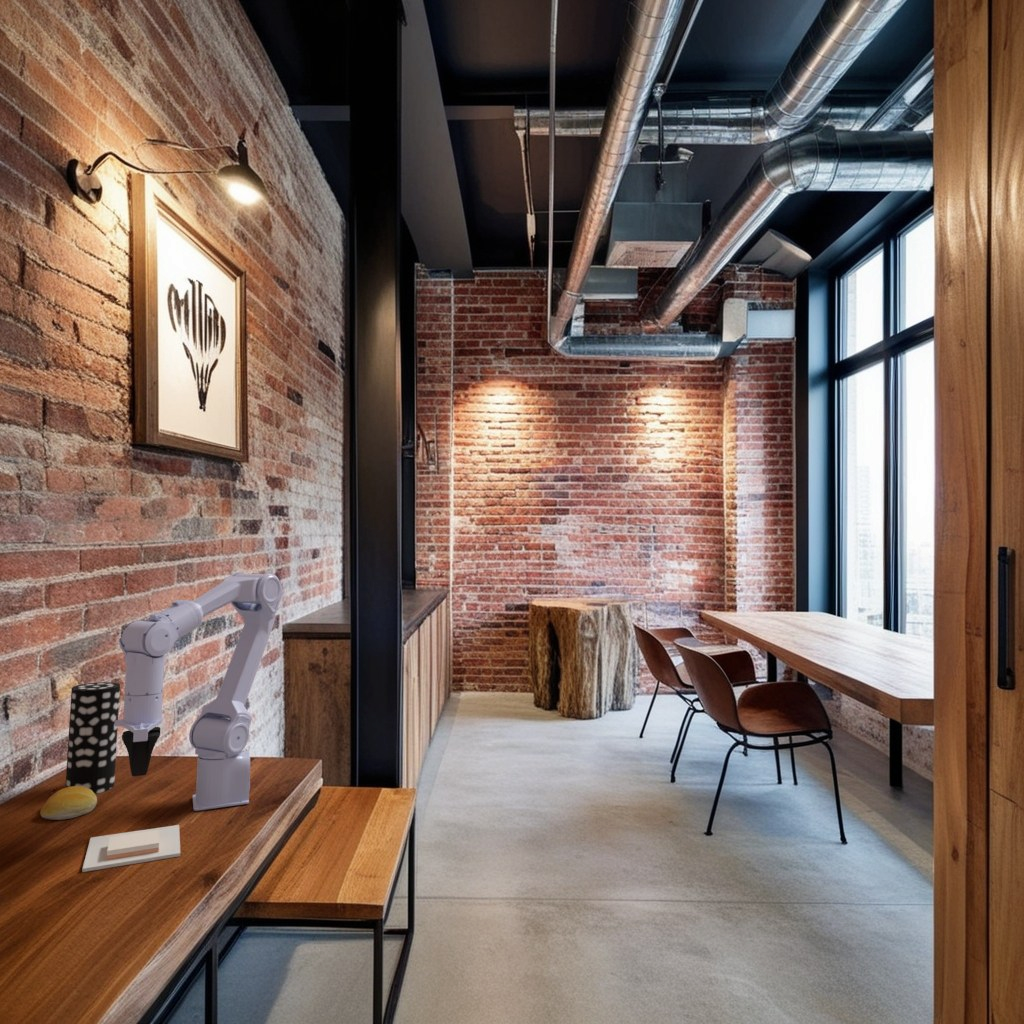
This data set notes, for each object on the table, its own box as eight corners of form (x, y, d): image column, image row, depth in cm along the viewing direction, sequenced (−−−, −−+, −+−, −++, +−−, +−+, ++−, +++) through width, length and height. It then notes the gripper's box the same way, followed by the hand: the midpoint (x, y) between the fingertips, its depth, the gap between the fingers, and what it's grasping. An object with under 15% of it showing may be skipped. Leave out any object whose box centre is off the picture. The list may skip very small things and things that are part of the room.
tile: (159, 829, 111) (159, 842, 106) (158, 838, 110) (158, 852, 106) (109, 836, 107) (107, 850, 102) (109, 846, 107) (106, 860, 102)
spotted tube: (122, 786, 135) (128, 685, 136) (77, 798, 128) (84, 692, 129) (101, 778, 140) (107, 680, 141) (56, 789, 133) (63, 686, 134)
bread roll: (35, 824, 117) (36, 800, 117) (50, 806, 125) (51, 784, 125) (90, 818, 120) (91, 795, 120) (101, 801, 128) (102, 779, 128)
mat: (179, 827, 116) (179, 824, 116) (180, 856, 105) (180, 852, 105) (90, 840, 110) (90, 837, 110) (82, 872, 100) (82, 868, 100)
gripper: (119, 686, 119) (114, 765, 118) (113, 703, 106) (108, 791, 105) (164, 683, 122) (160, 760, 121) (164, 699, 109) (159, 785, 108)
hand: (139, 774), depth 113 cm, fingers closed
